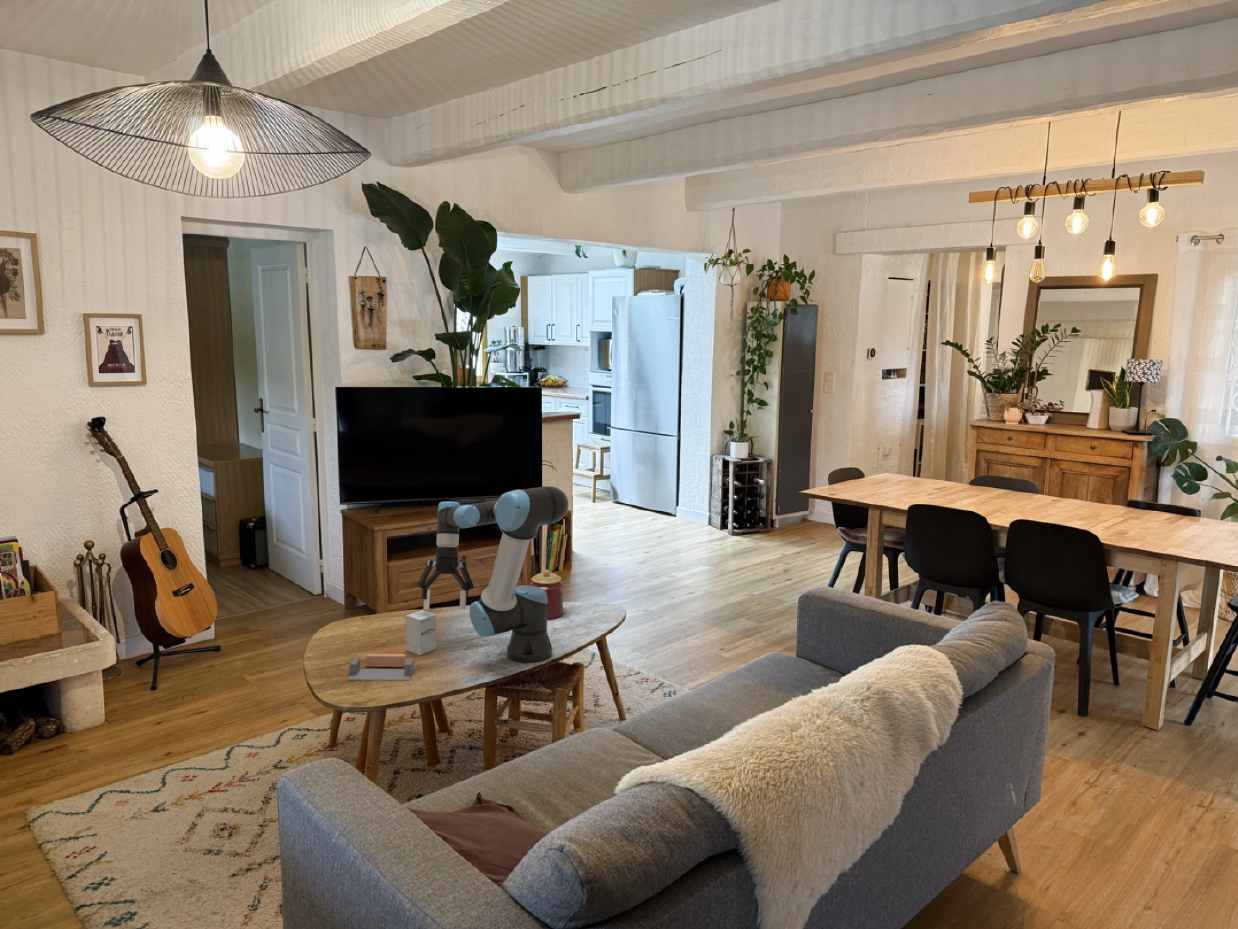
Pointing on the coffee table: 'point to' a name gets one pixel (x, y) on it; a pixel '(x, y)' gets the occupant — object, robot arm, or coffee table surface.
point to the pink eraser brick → (385, 660)
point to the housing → (381, 672)
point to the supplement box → (420, 632)
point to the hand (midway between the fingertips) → (444, 609)
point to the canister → (550, 592)
